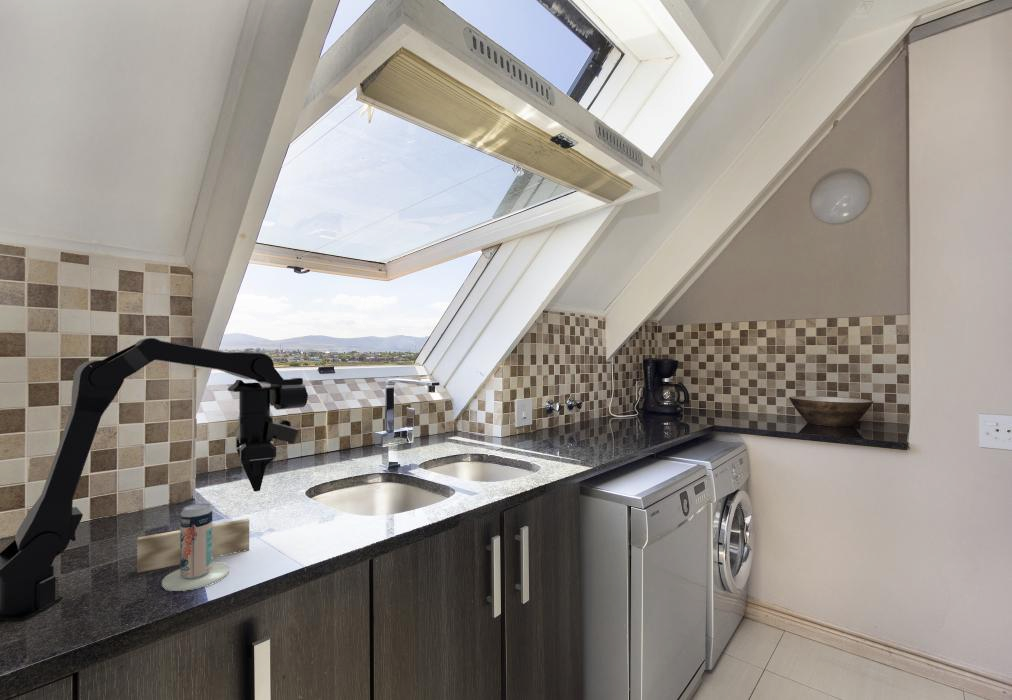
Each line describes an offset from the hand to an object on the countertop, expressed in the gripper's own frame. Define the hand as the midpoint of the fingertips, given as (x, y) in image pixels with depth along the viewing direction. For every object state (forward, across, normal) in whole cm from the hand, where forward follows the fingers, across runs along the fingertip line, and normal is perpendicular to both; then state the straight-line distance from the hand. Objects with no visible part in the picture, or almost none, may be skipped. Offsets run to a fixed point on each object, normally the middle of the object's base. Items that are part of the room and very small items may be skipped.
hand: (254, 485), depth 99 cm
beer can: (+12, -12, +10) cm, 19 cm away
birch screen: (+12, -3, +10) cm, 16 cm away
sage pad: (+12, -12, +10) cm, 20 cm away
